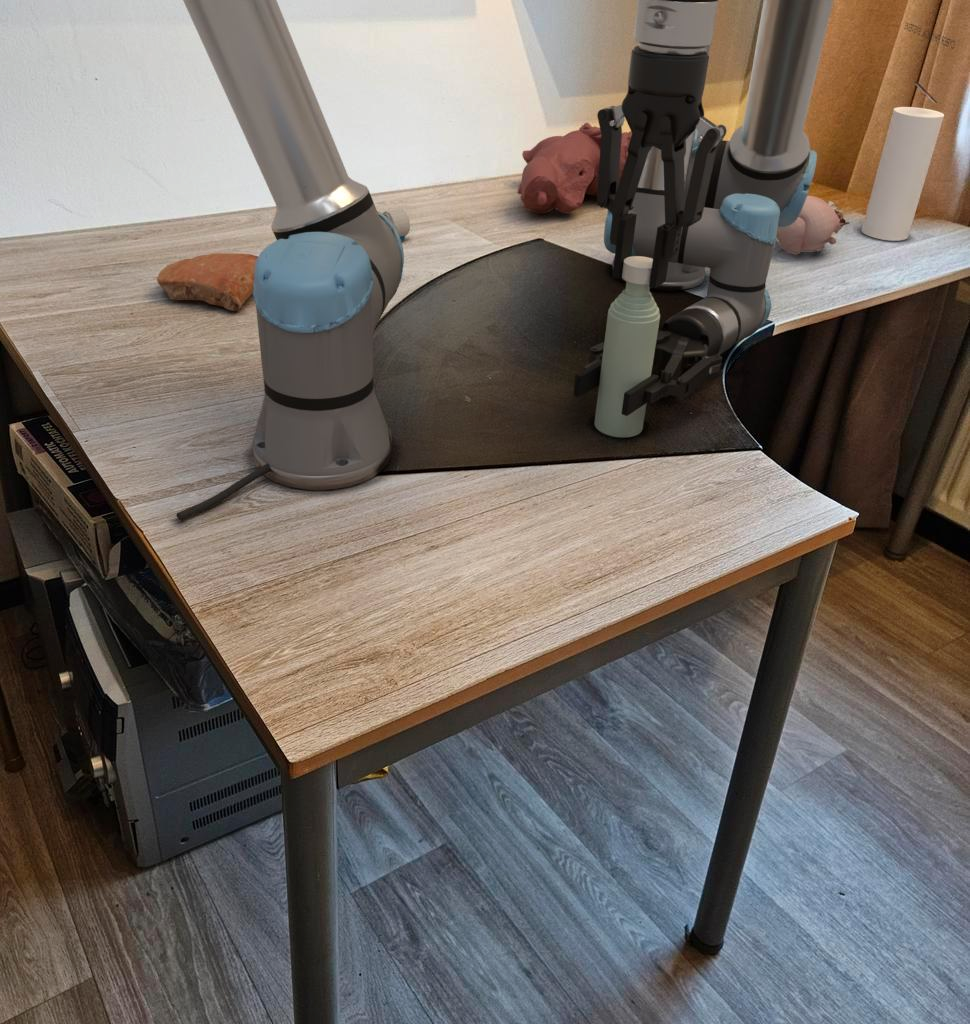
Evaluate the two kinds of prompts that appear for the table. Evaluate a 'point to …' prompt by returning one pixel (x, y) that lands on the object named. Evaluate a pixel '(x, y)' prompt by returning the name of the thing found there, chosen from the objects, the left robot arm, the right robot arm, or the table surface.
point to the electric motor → (399, 221)
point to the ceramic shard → (211, 279)
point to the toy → (812, 227)
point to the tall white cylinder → (902, 168)
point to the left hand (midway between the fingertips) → (638, 278)
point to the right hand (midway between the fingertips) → (601, 395)
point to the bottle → (626, 358)
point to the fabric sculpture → (565, 170)
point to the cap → (637, 269)
